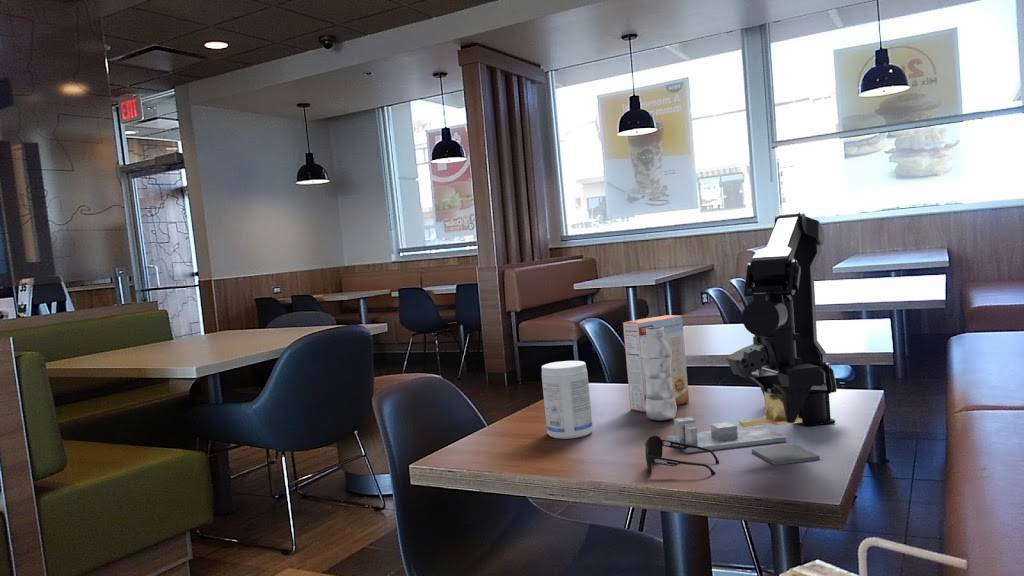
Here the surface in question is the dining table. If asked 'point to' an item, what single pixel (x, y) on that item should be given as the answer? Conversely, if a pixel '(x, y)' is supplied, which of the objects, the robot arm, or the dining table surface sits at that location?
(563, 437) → the supplement tub
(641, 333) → the cracker box
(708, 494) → the dining table surface
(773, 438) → the lock base
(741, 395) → the dining table surface
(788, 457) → the mat
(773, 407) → the gold rounded piece
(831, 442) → the dining table surface
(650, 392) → the plastic bottle
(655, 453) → the sunglasses
